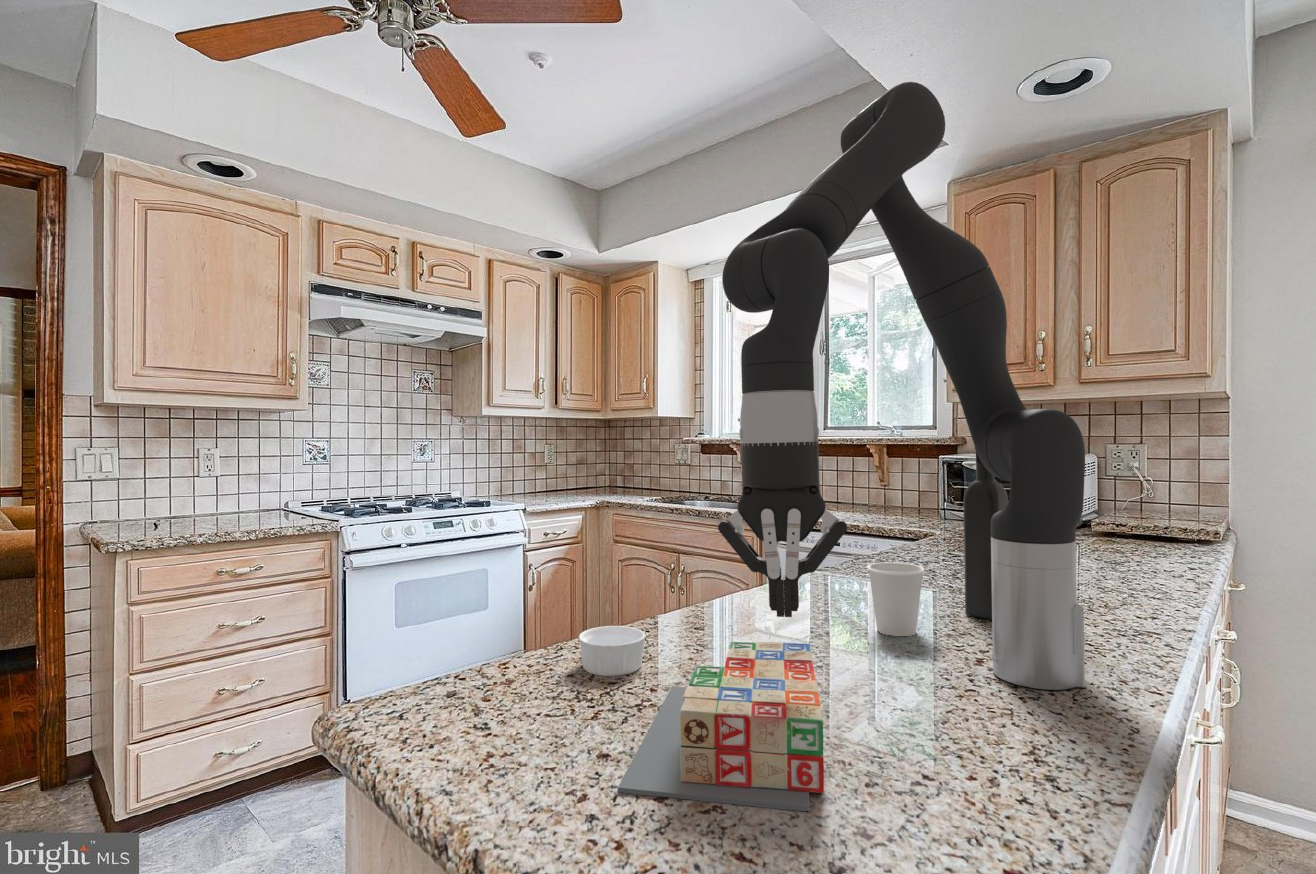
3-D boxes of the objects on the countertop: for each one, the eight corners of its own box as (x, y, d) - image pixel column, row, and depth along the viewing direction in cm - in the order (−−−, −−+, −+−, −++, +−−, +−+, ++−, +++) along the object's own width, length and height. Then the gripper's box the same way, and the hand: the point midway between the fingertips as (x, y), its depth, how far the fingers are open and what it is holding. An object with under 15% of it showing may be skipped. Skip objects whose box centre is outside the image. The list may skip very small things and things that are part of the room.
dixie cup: (895, 642, 98) (893, 574, 98) (856, 628, 106) (855, 565, 106) (937, 635, 102) (936, 569, 102) (897, 621, 109) (896, 560, 109)
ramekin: (659, 666, 90) (658, 633, 90) (610, 684, 83) (610, 649, 84) (613, 652, 96) (613, 622, 96) (565, 668, 90) (564, 635, 90)
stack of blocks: (811, 697, 77) (704, 691, 79) (811, 642, 77) (704, 638, 79) (824, 794, 56) (677, 783, 58) (823, 719, 56) (677, 710, 58)
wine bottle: (1012, 616, 112) (1009, 436, 112) (998, 622, 108) (994, 436, 108) (977, 610, 116) (974, 436, 116) (962, 616, 112) (959, 436, 113)
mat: (808, 699, 77) (807, 695, 77) (809, 811, 54) (809, 807, 54) (672, 689, 81) (671, 686, 81) (617, 792, 57) (617, 787, 57)
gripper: (846, 437, 68) (851, 607, 68) (716, 440, 71) (721, 604, 71) (851, 437, 61) (857, 628, 61) (707, 441, 64) (712, 623, 64)
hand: (784, 615), depth 66 cm, fingers closed
